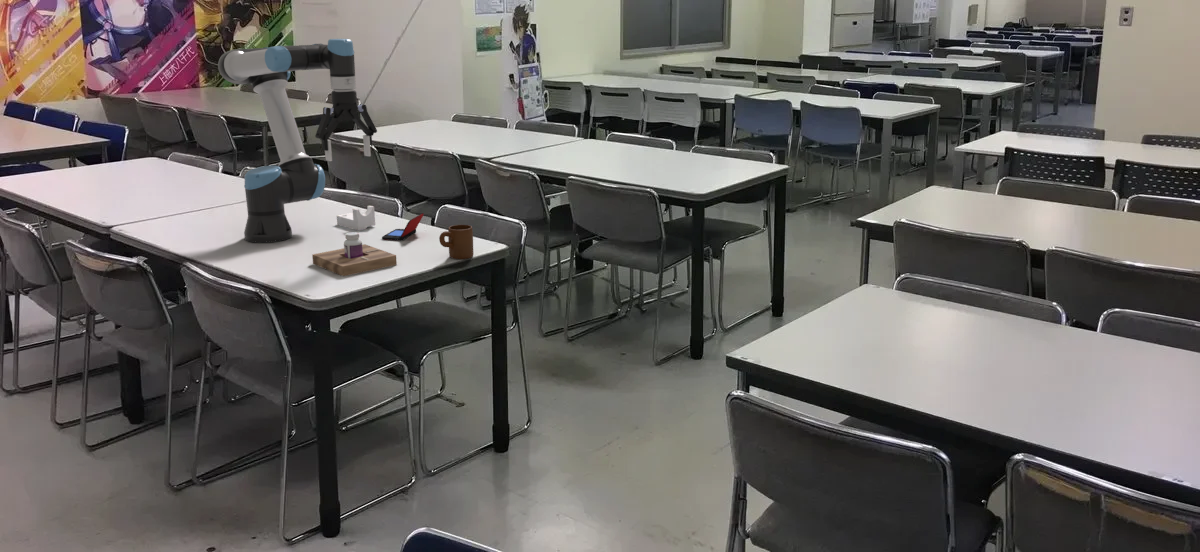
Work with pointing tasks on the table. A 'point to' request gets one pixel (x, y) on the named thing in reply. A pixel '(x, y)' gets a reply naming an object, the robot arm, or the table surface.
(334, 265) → the board
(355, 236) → the pill bottle
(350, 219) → the bracket
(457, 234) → the mug
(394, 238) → the handheld game console
